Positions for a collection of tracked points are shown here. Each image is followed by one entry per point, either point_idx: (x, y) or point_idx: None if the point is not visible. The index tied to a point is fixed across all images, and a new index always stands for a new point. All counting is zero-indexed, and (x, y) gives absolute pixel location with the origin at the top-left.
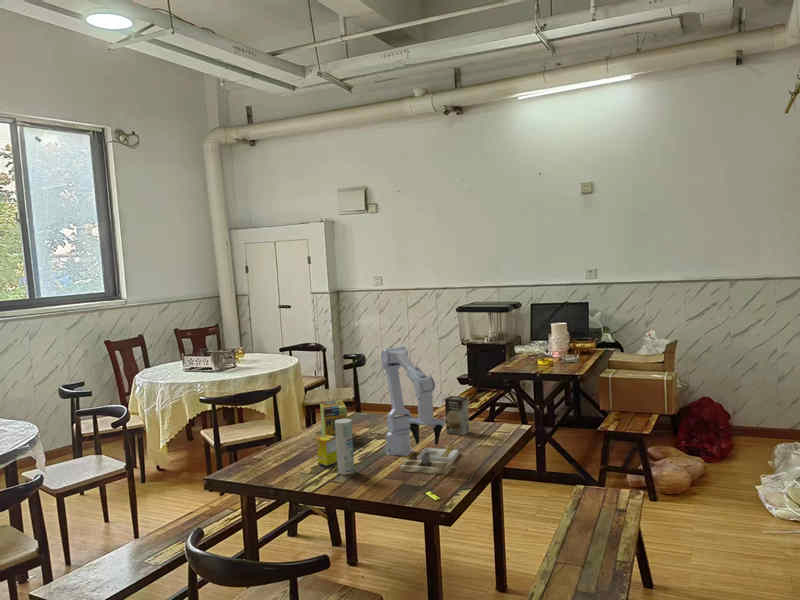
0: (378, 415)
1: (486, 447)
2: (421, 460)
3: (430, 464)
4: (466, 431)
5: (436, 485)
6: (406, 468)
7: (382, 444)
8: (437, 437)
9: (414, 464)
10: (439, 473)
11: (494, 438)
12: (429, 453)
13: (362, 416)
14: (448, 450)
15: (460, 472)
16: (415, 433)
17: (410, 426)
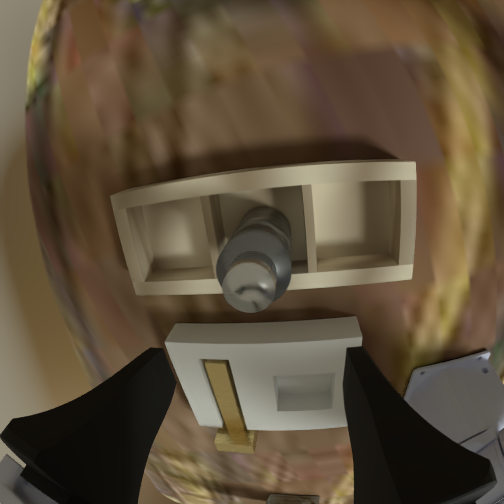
0: None
1: (169, 450)
2: (333, 327)
3: None
4: (267, 501)
5: (127, 53)
6: (372, 161)
7: None
8: (96, 387)
9: (353, 260)
10: (160, 182)
11: (188, 480)
12: (218, 278)
13: None
14: (235, 422)
15: (100, 247)
16: (385, 432)
17: (475, 499)
